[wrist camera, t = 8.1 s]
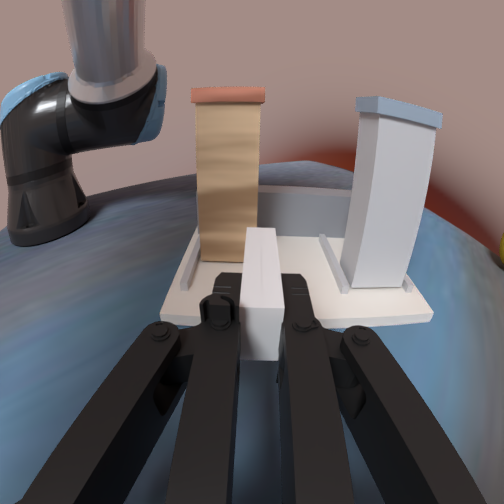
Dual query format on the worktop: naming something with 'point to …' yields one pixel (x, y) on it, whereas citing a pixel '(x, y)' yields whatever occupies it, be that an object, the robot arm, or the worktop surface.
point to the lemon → (502, 249)
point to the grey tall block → (387, 190)
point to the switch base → (301, 264)
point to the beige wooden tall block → (227, 168)
